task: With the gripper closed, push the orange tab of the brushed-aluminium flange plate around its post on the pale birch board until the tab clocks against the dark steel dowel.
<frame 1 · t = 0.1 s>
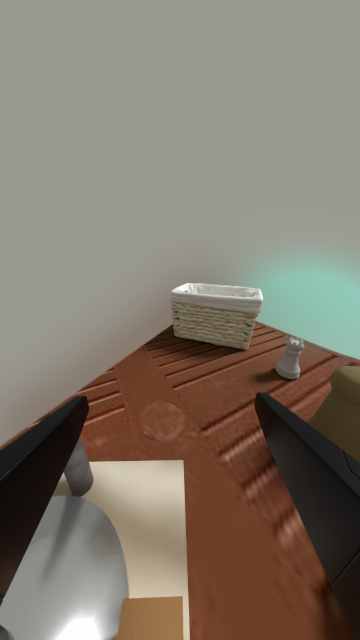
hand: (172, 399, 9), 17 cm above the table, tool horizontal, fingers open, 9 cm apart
cork: (333, 440, 24), on the table
white chess piece: (286, 374, 37), on the table
storage basket: (213, 335, 54), on the table
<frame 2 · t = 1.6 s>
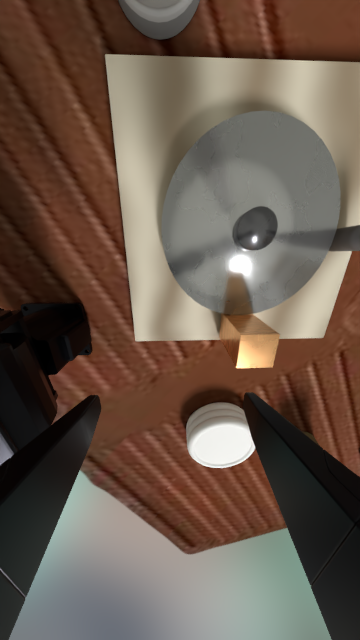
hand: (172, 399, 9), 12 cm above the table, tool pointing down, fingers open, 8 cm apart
coaster: (216, 423, 27), on the table
flange plate: (255, 250, 13), point 5 cm above the table, hinge at 0.0°
birch base board: (237, 235, 17), on the table
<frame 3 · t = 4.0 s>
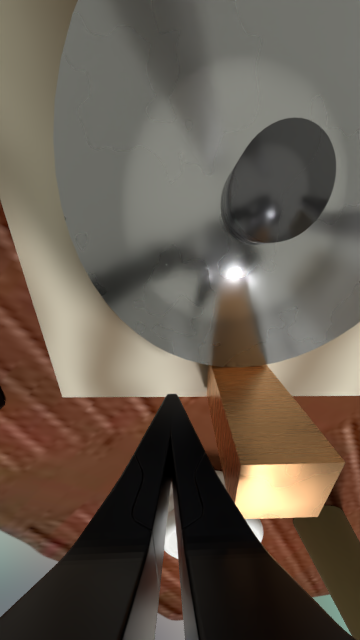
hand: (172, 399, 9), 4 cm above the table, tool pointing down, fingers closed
cork: (316, 516, 21), on the table
coaster: (205, 492, 19), on the table
flange plate: (276, 242, 5), point 5 cm above the table, hinge at 1.6°, touching gripper
birch base board: (235, 217, 9), on the table
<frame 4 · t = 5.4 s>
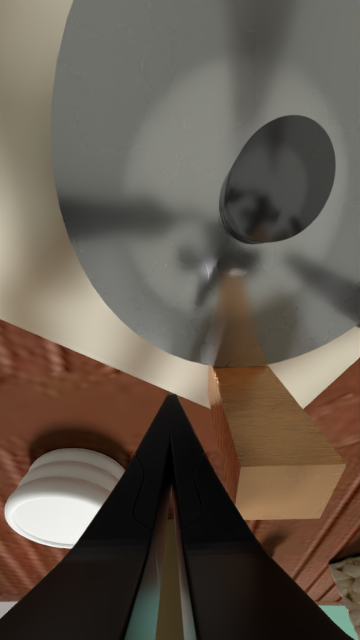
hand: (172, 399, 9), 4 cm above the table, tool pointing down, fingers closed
cork: (177, 528, 22), on the table
coaster: (84, 473, 18), on the table
flange plate: (275, 241, 5), point 5 cm above the table, hinge at 31.2°, touching gripper
birch base board: (234, 216, 9), on the table
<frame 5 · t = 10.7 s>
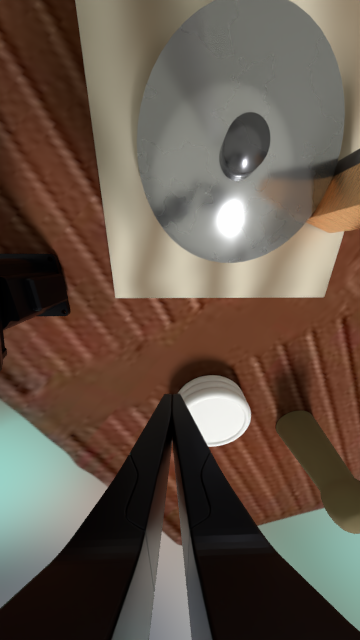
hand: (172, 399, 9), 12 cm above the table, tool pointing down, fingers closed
cork: (293, 423, 27), on the table
coaster: (208, 399, 25), on the table
flange plate: (268, 152, 11), point 5 cm above the table, hinge at 70.4°, touching birch base board
birch base board: (227, 174, 15), on the table
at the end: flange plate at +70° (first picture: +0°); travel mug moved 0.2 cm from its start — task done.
